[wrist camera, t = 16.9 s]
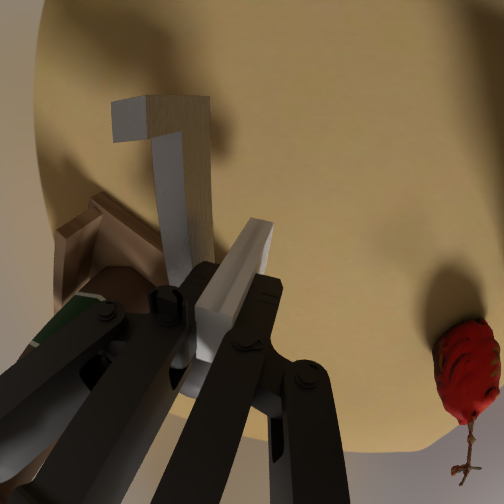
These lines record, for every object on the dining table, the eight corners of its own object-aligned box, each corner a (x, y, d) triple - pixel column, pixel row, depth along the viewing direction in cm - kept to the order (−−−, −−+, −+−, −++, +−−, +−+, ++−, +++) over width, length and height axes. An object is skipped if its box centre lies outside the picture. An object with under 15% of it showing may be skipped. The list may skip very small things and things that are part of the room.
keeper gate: (182, 98, 10) (111, 102, 6) (209, 96, 9) (145, 95, 6) (199, 315, 15) (167, 375, 12) (219, 318, 15) (190, 381, 11)
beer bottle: (105, 307, 26) (-14, 475, 6) (97, 249, 22) (-70, 444, 2) (166, 337, 26) (57, 537, 5) (170, 280, 21) (8, 538, 1)
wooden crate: (107, 173, 20) (6, 228, 11) (255, 277, 21) (212, 392, 12) (81, 285, 28) (27, 342, 19) (181, 359, 30) (144, 431, 21)
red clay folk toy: (467, 360, 21) (492, 477, 8) (417, 365, 23) (430, 498, 10) (496, 309, 17) (546, 440, 5) (442, 312, 19) (484, 471, 6)
